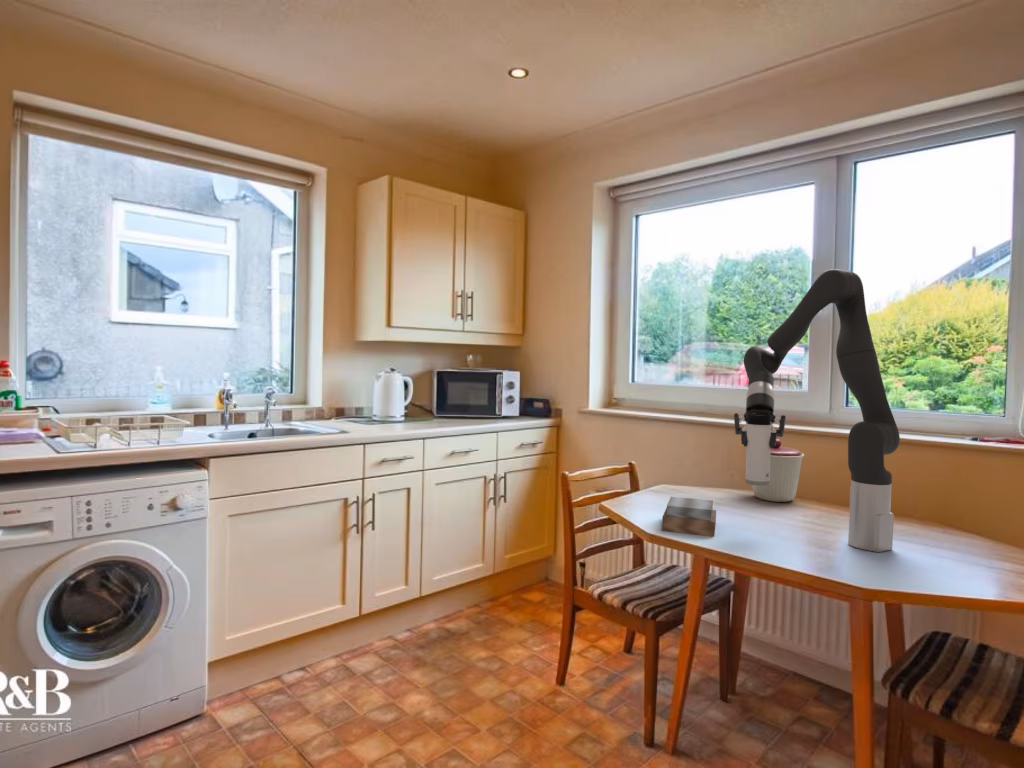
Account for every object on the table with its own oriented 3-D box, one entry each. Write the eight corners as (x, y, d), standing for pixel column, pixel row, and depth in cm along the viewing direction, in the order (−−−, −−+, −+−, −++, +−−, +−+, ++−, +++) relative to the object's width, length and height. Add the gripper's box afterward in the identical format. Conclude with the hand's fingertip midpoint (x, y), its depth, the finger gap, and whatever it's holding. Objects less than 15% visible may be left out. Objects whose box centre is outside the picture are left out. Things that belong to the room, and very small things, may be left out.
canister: (752, 490, 226) (754, 434, 225) (806, 497, 215) (808, 438, 214) (740, 499, 211) (742, 439, 210) (797, 508, 201) (799, 444, 200)
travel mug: (774, 485, 167) (776, 413, 166) (750, 485, 167) (752, 413, 166) (765, 481, 173) (767, 411, 172) (742, 481, 173) (743, 411, 173)
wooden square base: (715, 523, 180) (716, 500, 180) (714, 536, 167) (715, 511, 166) (667, 518, 185) (667, 495, 184) (662, 530, 171) (662, 506, 171)
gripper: (733, 391, 179) (730, 435, 168) (787, 392, 173) (787, 438, 163) (734, 407, 184) (731, 452, 174) (786, 409, 178) (786, 455, 168)
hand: (758, 445), depth 168 cm, fingers closed on travel mug, 6 cm apart
